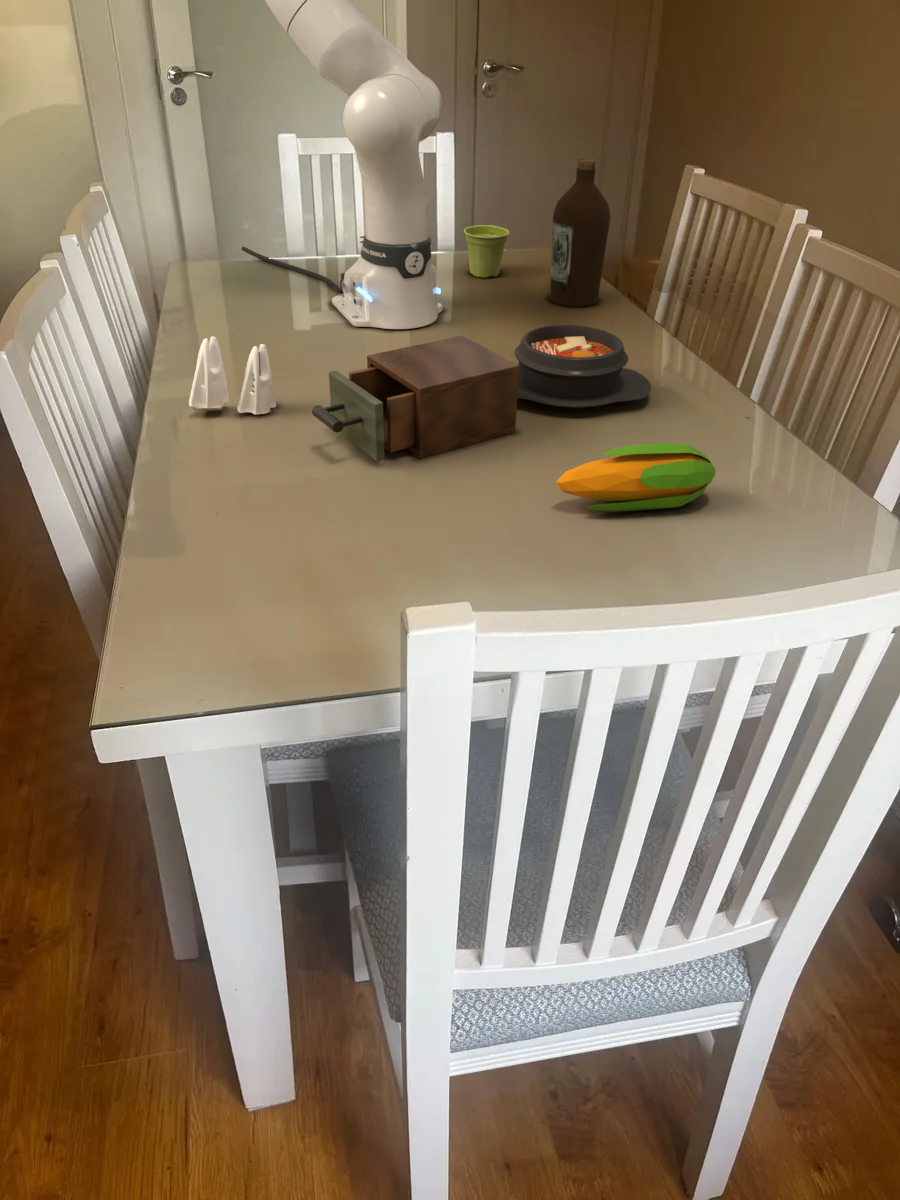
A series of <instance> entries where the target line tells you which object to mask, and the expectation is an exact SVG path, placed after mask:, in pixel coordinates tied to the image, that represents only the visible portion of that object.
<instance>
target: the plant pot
mask: <svg viewBox="0 0 900 1200" xmlns="http://www.w3.org/2000/svg"><path fill="white" fill-rule="evenodd" d="M463 233H464V234H465V240H466V242H467V251H468V252H467V253H468V265H469V274H472V276H474V277H476V278H483V279H486V278H489V277H493V278H495V277H498V276H499V275H500V272H501V271H500V270H501V266H502V259H503V254H504V249H505V244H506V242H507V239H508V236H510V231H509V229H507V228H505V227H502V226H498V225H489V224H487V225H486V224H485V225H484V224H481V225H479V224H478V225H471V226H468V227H465V228H464V229H463Z"/></svg>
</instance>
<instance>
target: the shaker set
mask: <svg viewBox="0 0 900 1200" xmlns="http://www.w3.org/2000/svg"><path fill="white" fill-rule="evenodd" d="M192 381H193V382H192V385H191V391H190V395H189V398H188V406H189V407H190V408H191V409H193V410H196V411H204V412H208V411H211V412H213V411H221V410H223V407H224V405H226V404H227V403H229V402H230V395H229V388H228V384H227V378H226V373H225V368H224V363H223V358H222V354H221V349H220V345H219V341H218V339H217V337H216V336H214V335H213V336H211V337H210V339H208V338H204V339H203V340H202V341H201V344H200V347H199V350H198V354H197V359H196V365H195V372H194V376H193V380H192ZM276 407H277V403H276V396H275V388H274V383H273V375H272V369H271V363H270V358H269V352H268V349H267V345H266V344H264V343H261V344H260V345H259V347H258V346H257V345H254V346H253V347H252V349H251V351H250V353H249V356H248V359H247V362H246V366H245V371H244V379H243V383H242V388H241V391H240V396H239V399H238V404H237V408H236V410H237V412H238V413H242V414H244V413H252V414H253V415H261V414H262V415H265V414H268V413H271V408H276Z"/></svg>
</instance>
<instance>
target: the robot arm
mask: <svg viewBox="0 0 900 1200" xmlns="http://www.w3.org/2000/svg"><path fill="white" fill-rule="evenodd" d="M264 3H266V5H267V7H268V8H269V10H270V11H271V13H272V15H273V17H274V18H275V19H276V20H277V22H278V23H279V25H280V26H281V27H282V28H283V30H284V31H285V33H286V34H287V35H288V37H290V40H292V41H293V43H294V44H295V46H296V47H298V49H299V50H300V51H301V53H302V54H303V55H304V57H305V58H306V59H307V60H308V62H309V63H310V64H311V65H312V66H313V68H314V69H315V71H317V73H318V74H319V75H320V76H321V78H323V79H324V80H325V81H326V82H329V83H331V84H333V85H334V86H335V87H337V88H338V89H339V90H340V91H342V92H343V93H344V94H345V95H346V96H348V97H349V98H348V99H347V101H346V102H345V104H344V105H345V106H344V109H343V114H342V123H343V124H342V125H343V129H344V132H345V135H346V137H347V139H348V141H349V142H350V144H351V145H352V146H353V149H354V152H355V157H356V161H357V166H358V169H359V173H360V178H361V183H362V184H361V185H362V190H363V200H364V201H363V204H364V205H363V206H364V228H365V235H362V236H359V239H362V240H361V241H359V244H361V247H360V249H361V250H360V257H359V259H357V260H356V261H355V262H354V264H352V265H351V266H350V268H348V269H347V270H346V271H345V272H341V273H340V281H339V287H338V286H337V285H336V284H335V283H334V282H333V281H332V280H331V279H330V278H328V277H326V276H324V275H321V274H319V273H317V272H314V271H311V270H308V269H305V268H302V267H299V266H296V265H292V264H289V263H286V262H283V261H281V260H280V261H279V260H277V259H274V258H271V259H269V258H270V257H268V256H265V255H263V254H260V253H258V252H255V251H254V250H252V249H250V248H248V247H246V246H242V247H241V251H243V252H245V253H247V254H248V255H251V256H252V257H254V258H257V259H258V260H261V261H264V262H266V263H269V264H272V265H275V266H279V267H281V268H283V269H287V270H290V271H293V272H297V273H300V274H302V275H306V276H309V277H311V278H314V279H317V280H320V281H322V282H324V283H326V284H327V285H328V286H329V287H330V288H331V289H332V290H334V291H335V292H337V293H339V294H338V295H335V296H333V297H332V298H331V304H332V305H333V306H334V307H335V308H336V310H337V311H339V312H340V314H341V315H342V316H343V317H344V318H345V319H346V320H347V321H348V322H349V323H350V324H351V325H352V326H353V327H358V328H359V327H361V328H363V327H364V328H366V327H367V328H379V329H385V330H409V329H417V328H422V327H426V326H428V325H431V324H433V323H435V322H436V321H437V319H438V315H439V314H440V313H441V312H443V311H444V307H443V303H441V302H439V300H438V299H439V297H438V295H440V294H441V291H442V289H441V288H439V287H438V283H437V271H436V267H435V265H434V264H433V263H432V262H431V261H430V260H431V259H432V250H433V246H432V238H431V236H430V234H429V233H430V230H429V229H430V227H429V225H430V191H429V187H428V185H427V183H426V181H425V178H424V173H423V169H422V164H421V159H420V158H421V157H420V143H421V142H423V141H425V140H426V139H428V138H429V137H430V136H431V135H432V133H434V131H435V129H436V127H437V126H438V123H439V122H440V120H441V118H442V114H443V99H442V95H441V92H440V90H439V88H438V86H437V85H436V84H435V82H434V81H433V80H432V79H431V78H430V77H428V76H427V75H425V74H423V72H421V71H420V70H419V69H418V68H417V67H416V66H415V65H414V64H413V63H412V62H411V61H410V60H409V59H408V58H407V57H406V56H405V55H404V54H403V53H402V52H401V51H400V50H399V49H398V48H397V47H396V46H395V45H394V44H393V43H392V42H390V41H389V40H388V38H387V37H385V36H384V35H383V34H382V33H381V32H380V31H379V30H378V29H377V28H376V27H375V25H374V24H372V22H371V21H370V20H369V19H368V17H367V16H366V14H365V13H364V12H363V11H362V9H361V8H360V7H359V6H358V4H357V3H356V1H354V0H264Z"/></svg>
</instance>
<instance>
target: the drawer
mask: <svg viewBox="0 0 900 1200" xmlns="http://www.w3.org/2000/svg"><path fill="white" fill-rule="evenodd" d="M328 381H329V400H330V401H329V402H330V406H325V407H323V406H322V405H321V404H316V405H314V406H312V409H311V414H312V416H314V417H315V418H316V419H317V420H318V421H320V422H321V423H322V424H324V425H325V426H326V427H328V428H329V429H330V430H331V431H333V432H334V433H337V434H338V433H339V434H341V435H342V436H344V437H345V438H346V439H347V440H349V442H351V443H353V444H354V445H355V446H356V447H358V448H359V449H360V450H361V451H363V452H364V453H365V454H366V455H368V456H369V457H370V458H372V459H373V460H374V461H375V462H380V461H384V460H385V449H386V450H387V451H389V452H390V453H394V452H397V451H400V450H401V451H402V450H405V449H406V448H408V447H412V446H416V393H415V392H414V391H412V390H411V389H409V388H408V387H406V386H404V385H403V384H401V383H400V382H398V381H397V380H395V379H394V378H392V377H390V376H389V375H387V374H386V373H384V372H383V371H381V370H380V369H378V368H376V367H371V368H367V367H366V368H362V369H357V370H352V371H349V372H348V377H347V376H345V375H344V374H342V373H341V372H340V371H338V370H331V371H329V372H328Z"/></svg>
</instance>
